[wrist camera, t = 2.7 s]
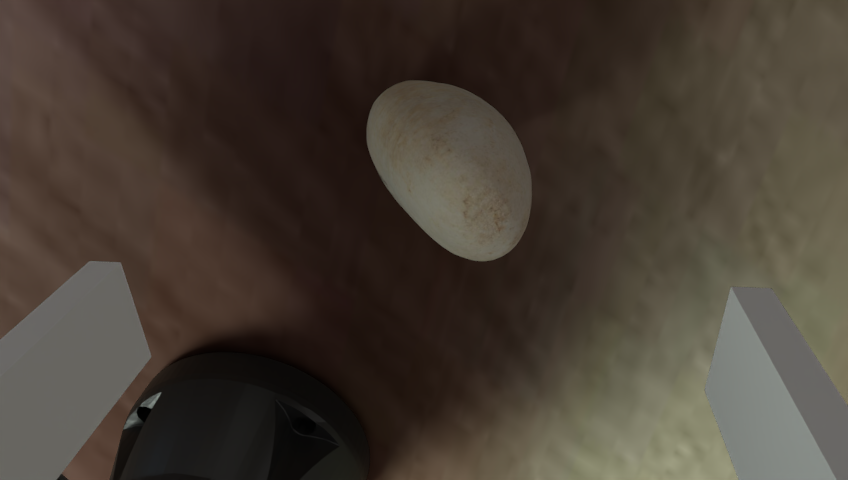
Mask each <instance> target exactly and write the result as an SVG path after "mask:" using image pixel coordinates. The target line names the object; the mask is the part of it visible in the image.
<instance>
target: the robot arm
mask: <svg viewBox="0 0 848 480" xmlns="http://www.w3.org/2000/svg"><path fill="white" fill-rule="evenodd" d="M150 358H151V354H150V351H149V348H148V344H147V341H146V338H145V335H144V332H143V329H142V326H141V323H140V320H139V317H138V314H137V311H136V308H135V305H134V301H133V298H132V295H131V292H130V289H129V286H128V283H127V280H126V277H125V274H124V271H123V268H122V265H121V262H98V261H89V262H88V263H87V264H86V265H85V266H84V267H82V268H81V269H80V270H79V271H78V272H77V273H76V274H74V275H73V276H72V277H71V278H70V279H69V280H68V281H66V282H65V283H64V284H63V285H62V286H61V287H60V288H58V289H57V290H56V291H55V292H54V293H53V294H52V295H51V296H49V297H48V298H47V299H46V300H45V301H44V302H43V303H41V304H40V305H39V306H38V307H37V308H36V309H35V310H33V311H32V312H31V313H30V314H29V315H28V316H27V317H26V318H24V319H23V320H22V321H21V322H20V323H19V324H18V325H16V326H15V327H14V328H13V329H12V330H11V331H10V332H8V333H7V334H6V335H5V336H4V337H3V338H2V339H1V340H0V480H68V479H67V478H66V477H65V476H63V475H62V474H61V473H62V472H63V471H64V469H65V468H66V467H67V465H68V464H69V463H70V462H71V460H72V459H73V458H74V456H75V455H76V454H77V452H78V451H79V450H80V449H81V447H82V446H83V445H84V443H85V442H86V441H87V440H88V438H89V437H90V436H91V434H92V433H93V432H94V430H95V429H96V428H97V427H98V425H99V424H100V423H101V421H102V420H103V419H104V418H105V416H106V415H107V414H108V412H109V411H110V410H111V408H112V407H113V406H114V405H115V403H116V402H117V401H118V399H119V398H120V397H121V396H122V394H123V393H124V392H125V390H126V389H127V388H128V386H129V385H130V384H131V383H132V381H133V380H134V379H135V377H136V376H137V375H138V374H139V372H140V371H141V370H142V368H143V367H144V366H145V364H146V363H147V362H148V361H149V359H150ZM705 393H706V395H707V398H708V400H709V403H710V406H711V408H712V411H713V414H714V416H715V419H716V421H717V424H718V427H719V429H720V432H721V434H722V437H723V440H724V442H725V445H726V448H727V450H728V453H729V455H730V458H731V461H732V463H733V466H734V468H735V471H736V474H737V476H738V479H739V480H848V406H847V404H846V403H845V401H844V399H843V398H842V396H841V395H840V393H839V392H838V390H837V389H836V387H835V386H834V384H833V382H832V381H831V379H830V378H829V376H828V375H827V373H826V372H825V370H824V369H823V367H822V365H821V364H820V362H819V361H818V359H817V358H816V356H815V355H814V353H813V352H812V350H811V348H810V347H809V345H808V344H807V342H806V341H805V339H804V338H803V336H802V335H801V333H800V331H799V330H798V328H797V327H796V325H795V324H794V322H793V321H792V319H791V318H790V316H789V314H788V313H787V311H786V310H785V308H784V307H783V305H782V304H781V302H780V301H779V299H778V297H777V296H776V294H775V293H774V291H773V290H772V288H751V287H731V288H730V292H729V296H728V300H727V304H726V308H725V312H724V316H723V320H722V323H721V327H720V331H719V335H718V339H717V343H716V347H715V351H714V355H713V359H712V363H711V366H710V370H709V374H708V378H707V382H706V386H705ZM369 465H370V452H369V446H368V442H367V439H366V436H365V433H364V431H363V429H362V427H361V425H360V423H359V421H358V420H357V418H356V417H355V415H354V414H353V412H352V411H351V410H350V409H349V407H348V406H347V405H346V404H345V403H344V402H343V401H342V400H341V399H340V398H339V397H338V396H337V395H336V394H335V393H334V392H332V391H331V390H330V389H329V388H327V387H326V386H325V385H323V384H322V383H321V382H319V381H318V380H316V379H315V378H313V377H311V376H309V375H308V374H306V373H304V372H302V371H300V370H298V369H296V368H294V367H291V366H289V365H287V364H284V363H281V362H279V361H275V360H272V359H269V358H265V357H261V356H256V355H251V354H244V353H234V352H215V353H205V354H200V355H195V356H191V357H188V358H185V359H182V360H180V361H177V362H175V363H173V364H171V365H169V366H168V367H166V368H165V369H163V370H162V371H161V372H160V373H158V374H157V375H156V376H155V377H154V378H153V380H152V381H151V382H150V383H149V385H148V386H147V388H146V389H145V390H144V392H143V393H142V395H141V396H140V397H139V399H138V400H137V401H136V403H135V404H134V406H133V407H132V409H131V411H130V413H129V415H128V417H127V419H126V422H125V425H124V429H123V432H122V436H121V439H120V443H119V447H118V451H117V454H116V458H115V462H114V465H113V469H112V473H111V476H110V480H366V479H367V475H368V471H369Z"/></svg>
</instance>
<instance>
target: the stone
mask: <svg viewBox="0 0 848 480" xmlns="http://www.w3.org/2000/svg"><path fill="white" fill-rule="evenodd" d="M367 145H368V150H369V153H370V156H371V158H372V161H373V163H374V165H375V167H376V169H377V172H378V174H379V176H380V178H381V179H382V181H383V183H384V184H385V186H386V187H387V189H388V190H389V192H390V193H391V194H392V196H393V197H394V198H395V200H396V201H397V202H398V203H399V204H400V206H401V207H402V208H403V209H404V210H405V211H406V212H407V213H408V214H409V215H410V217H411V218H412V219H413V220H414V221H415V222H416V223H417V224H418V225H419V226H420V227H421V228H422V229H423V230H424V231H425V232H426V233H427V234H428V235H429V236H430V237H431V238H432V239H433V240H435V241H436V242H437V243H438V244H440V245H441V246H442V247H444V248H445V249H447V250H448V251H450V252H451V253H453V254H455V255H458V256H460V257H463V258H466V259H469V260H474V261H490V260H495V259H497V258H499V257H502V256H504V255H505V254H507V253H508V252H510V251H511V250H512V249H513V248H514V247H515V246H516V245H517V243H518V242H519V241H520V239H521V237H522V235H523V233H524V231H525V229H526V227H527V224H528V220H529V216H530V210H531V201H532V181H531V173H530V169H529V165H528V162H527V159H526V156H525V153H524V150H523V147H522V145H521V142H520V140H519V139H518V137H517V135H516V133H515V132H514V130H513V128H512V127H511V126H510V124H509V123H508V122H507V120H506V119H505V118H504V117H503V116H502V115H501V114H500V113H499V112H498V111H497V110H496V109H495V108H494V107H492V106H491V105H490V104H488V103H487V102H485V101H484V100H482V99H481V98H480V97H478V96H476V95H474V94H473V93H471V92H469V91H467V90H465V89H462V88H459V87H456V86H453V85H449V84H444V83H437V82H431V81H420V80H410V81H404V82H401V83H398V84H395V85H393V86H391V87H390V88H388V89H386V90H385V91H384V92H383V93H382V94H381V95H380V96H379V97H378V98H377V99H376V100H375V102H374V103H373V106H372V108H371V110H370V114H369V118H368V122H367Z"/></svg>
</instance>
